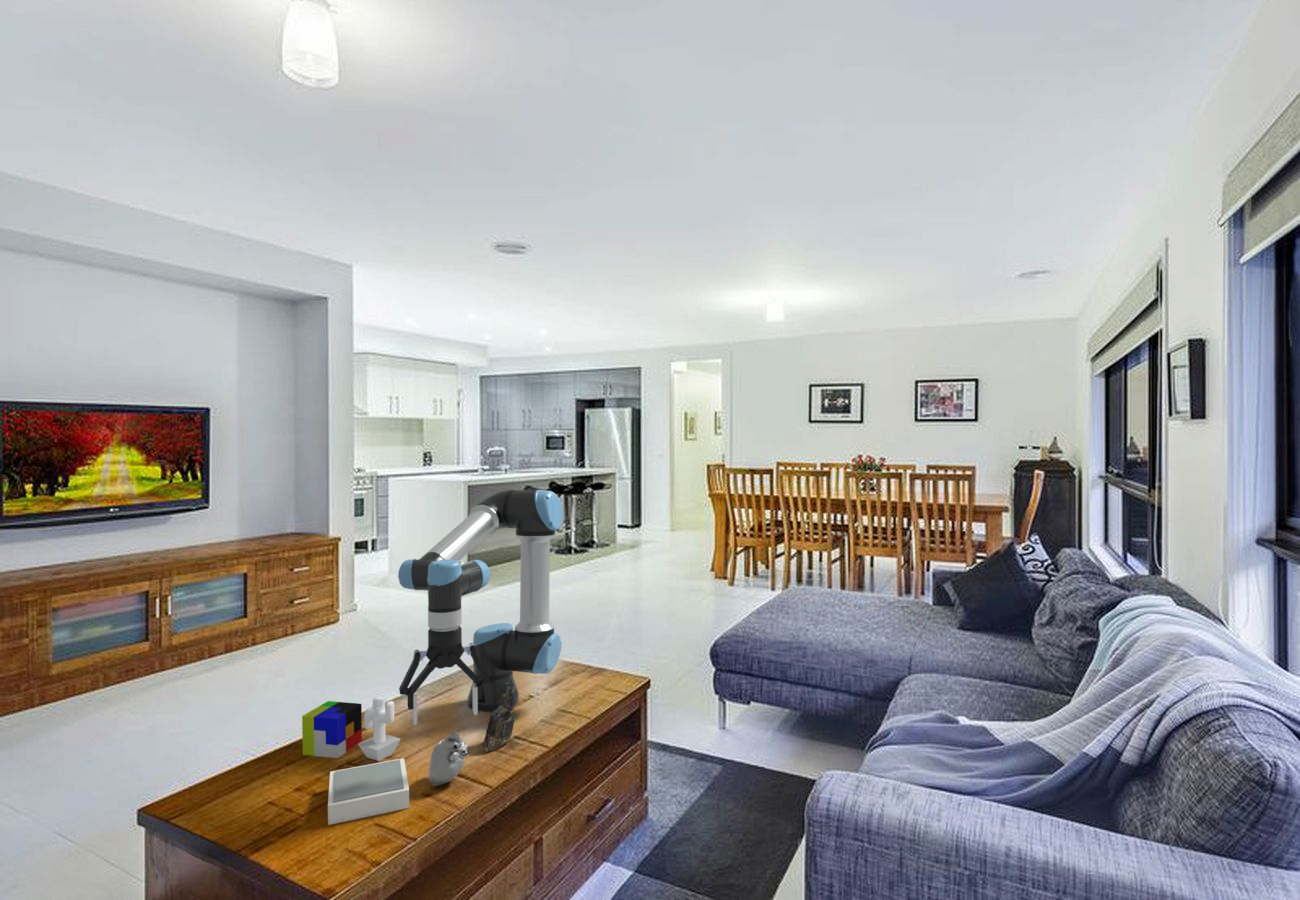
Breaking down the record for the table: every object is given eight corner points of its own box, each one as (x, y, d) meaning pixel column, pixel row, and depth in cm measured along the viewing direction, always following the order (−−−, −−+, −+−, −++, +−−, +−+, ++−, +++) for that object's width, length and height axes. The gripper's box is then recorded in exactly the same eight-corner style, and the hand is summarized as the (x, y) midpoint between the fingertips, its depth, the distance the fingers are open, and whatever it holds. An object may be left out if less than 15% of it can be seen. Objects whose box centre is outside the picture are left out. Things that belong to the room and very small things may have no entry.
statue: (475, 751, 175) (475, 693, 174) (504, 733, 185) (504, 678, 185) (493, 755, 172) (492, 696, 172) (521, 736, 183) (521, 681, 183)
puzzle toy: (337, 758, 172) (337, 719, 171) (302, 754, 174) (302, 716, 173) (362, 740, 181) (361, 703, 181) (328, 737, 183) (328, 701, 183)
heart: (448, 764, 167) (441, 719, 165) (478, 772, 163) (471, 726, 161) (417, 790, 158) (409, 743, 156) (448, 799, 154) (440, 751, 152)
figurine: (378, 745, 178) (377, 689, 178) (404, 753, 174) (403, 695, 173) (355, 757, 172) (354, 698, 171) (381, 765, 167) (380, 705, 167)
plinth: (404, 774, 163) (404, 756, 163) (409, 807, 148) (409, 788, 148) (330, 788, 156) (330, 770, 156) (328, 825, 142) (327, 804, 142)
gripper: (495, 617, 168) (496, 703, 168) (387, 629, 158) (387, 720, 158) (501, 625, 161) (502, 714, 161) (388, 637, 151) (389, 733, 151)
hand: (445, 717), depth 159 cm, fingers open, 13 cm apart
